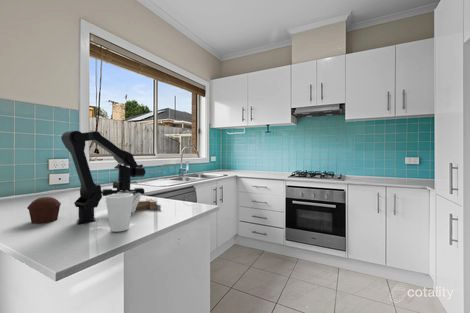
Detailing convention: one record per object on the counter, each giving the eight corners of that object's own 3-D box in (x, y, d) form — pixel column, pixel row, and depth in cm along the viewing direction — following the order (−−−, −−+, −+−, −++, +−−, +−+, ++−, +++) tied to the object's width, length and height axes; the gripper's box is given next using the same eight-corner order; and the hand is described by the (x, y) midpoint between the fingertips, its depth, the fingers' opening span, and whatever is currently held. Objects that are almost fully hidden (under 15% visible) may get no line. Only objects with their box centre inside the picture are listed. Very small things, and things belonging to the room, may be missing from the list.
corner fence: (160, 210, 115) (160, 205, 115) (138, 213, 109) (138, 207, 109) (152, 205, 128) (152, 200, 128) (132, 207, 122) (132, 202, 122)
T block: (156, 209, 117) (156, 201, 117) (138, 212, 112) (138, 203, 112) (151, 206, 124) (151, 198, 124) (134, 208, 119) (134, 200, 119)
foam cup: (100, 230, 84) (100, 196, 84) (122, 223, 93) (122, 192, 93) (116, 234, 80) (116, 198, 80) (138, 227, 88) (138, 194, 88)
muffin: (65, 219, 99) (65, 197, 99) (33, 226, 89) (33, 201, 89) (54, 215, 105) (54, 194, 105) (22, 221, 96) (22, 198, 95)
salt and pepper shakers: (121, 206, 117) (132, 186, 121) (128, 209, 119) (139, 190, 123) (126, 210, 108) (138, 189, 111) (134, 213, 110) (145, 192, 113)
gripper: (140, 176, 124) (139, 204, 124) (101, 176, 114) (100, 207, 113) (145, 178, 115) (143, 208, 115) (103, 178, 105) (102, 211, 104)
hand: (122, 208), depth 112 cm, fingers closed, pressing on salt and pepper shakers
